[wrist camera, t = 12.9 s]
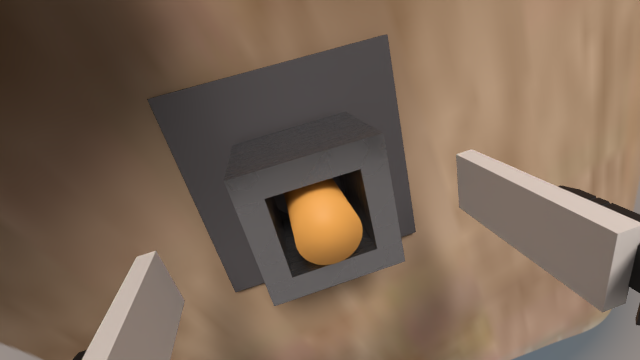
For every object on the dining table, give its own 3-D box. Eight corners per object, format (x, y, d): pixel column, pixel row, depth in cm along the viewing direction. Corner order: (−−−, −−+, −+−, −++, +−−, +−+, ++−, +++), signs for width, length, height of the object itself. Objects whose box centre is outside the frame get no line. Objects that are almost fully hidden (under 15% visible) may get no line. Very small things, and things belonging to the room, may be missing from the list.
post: (276, 222, 21) (288, 299, 14) (252, 151, 19) (251, 202, 12) (349, 199, 22) (394, 263, 15) (332, 127, 20) (375, 163, 13)
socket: (268, 242, 21) (274, 306, 16) (232, 144, 18) (223, 181, 13) (366, 210, 22) (405, 261, 16) (345, 111, 19) (383, 132, 14)
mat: (235, 286, 23) (235, 292, 23) (150, 98, 18) (147, 99, 17) (412, 228, 24) (415, 231, 24) (383, 35, 19) (387, 34, 18)
